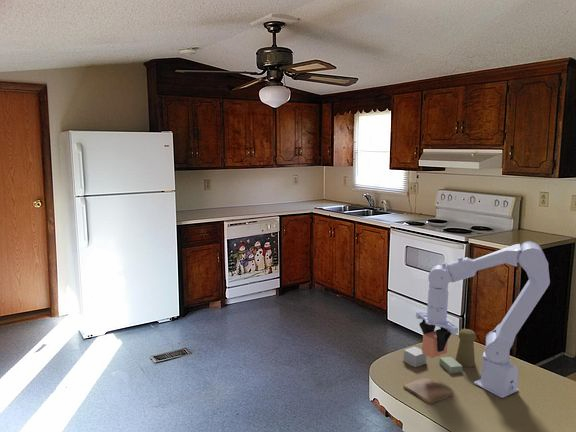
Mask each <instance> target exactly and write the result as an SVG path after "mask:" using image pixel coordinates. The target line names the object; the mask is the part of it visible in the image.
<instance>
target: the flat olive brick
mask: <svg viewBox="0 0 576 432" xmlns="http://www.w3.org/2000/svg"><path fill="white" fill-rule="evenodd" d="M438 363H439V365H440V366H441V367H442V368H444V370H446V371H447V372H448V373H449V374H450V375H451V374H457V373H462V372H463V366H462V365H461V364H459V363H458V362H457V361H456V358H453V357H452V356H444V357H439V361H438Z"/></svg>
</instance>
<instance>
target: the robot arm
mask: <svg viewBox="0 0 576 432" xmlns="http://www.w3.org/2000/svg"><path fill="white" fill-rule="evenodd" d="M518 263H519V266H521V268H522V269H523V270H524V271H525V272H526V275H527V278H528V280H527V281H526V283H525V284H524V286H523V288H522V289H521V291H520V292H519V294H518V296H517V297H516V299H515V300H514V302H513V303H512V305H511V306H510V308H509V310H508V311H507V312H506V314H505V316H504V317H503V319H502V320H501V322H500V323H499V324H497V325H496V327H495V328H494V329H493V330H491V331H489V332H488V333H487V334H486V336H485V349H484V352H483V353H482V360H481V374H480V379H477V380H474V381H473V383H474V384H475V385H476V386H479V387H480V388H482V389H484V390H486V391H488V392H490V393H491V394H493V395H495V396H497V397H499V398H501V399H502V398H505V397H508V396H510V395H512V394H514V393H516V392H518V391H519V388H518V382H519V372H520V370H519V367H518V366H517V365H515V364H513V363H512V361H511V358H510V350H511V348H512V346H513V345H514V341H515V339H516V335H517V334H518V333H519V331H520V330H521V329H522V326H523V325H524V324H525V322H526V321H527V319H528V318H529V316H530V315H531V313H532V312H533V310H534V308H535V307H536V305H538V302H539V301H540V300H541V298H542V297H543V295H544V294H545V292H546V290H547V289H548V287H549V286H550V283H551V279H550V270H549V261H548V260H547V258H546V255H545V253H544V251H543V249H542V247H541V245H540V244H538V243H536V242H534V241H525V242H522V243H521V244H520V243H516V244H513V245H509V246H507V247H505V248H501V249H499V250H496V251H493V252H490V253H488V254H486V255H482V256H480V257H477V258H471V257H467V256H466V257H463V256H459V257H457V259H456V260H454V261H451V262H448V263H446V262H442V263H441V264H438V265H434V266H433V267H432V268H431V270H430V272H429V273H428V278H427V279H428V280H427V281H428V283H429V284H428V294H427V308H426V309H427V310H426V312H424V311H422V310H420V311H416V315H415V318H416V319H418V320H421V321H420V322H419V328H420V329H421V331H422V333H423V334H426V333H430V332H433V331H435V332H436V335H437V350H438V352H441V351H444V348H445V345H446V343H447V344H448V342H447V341H449V338H450V337H451V335H453V336H454V335H457V334H459V326H457V325H455V324H454V323H452V322H451V321H449V320H448V318H447V317H448V304H449V284H450V283H456V282H459V281H462V280H466V279H469V278H472V277H474V276H475V275H476V273H477V272H478V271H481V270H484V269H488V268H491V267H496V266H499V265H503V264H508V265H511V266H514V267H518ZM436 327H439V328H438V329H436ZM435 329H436V330H435ZM423 334H422V335H423Z"/></svg>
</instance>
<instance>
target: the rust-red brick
mask: <svg viewBox="0 0 576 432" xmlns="http://www.w3.org/2000/svg"><path fill="white" fill-rule="evenodd" d="M448 341H449V340H448ZM448 341H447V343H446V345H445V348H444V351H441V352H438V350H437V335H436V332H435V330H434V331H433V332H430V333H426V334H422V349H421V350H422V353H423V354H425V355H427V356H426V357H429V358H431V359H434V358H436V357H440V356H442V355H445V354H447V353H448Z"/></svg>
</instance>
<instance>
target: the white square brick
mask: <svg viewBox="0 0 576 432" xmlns="http://www.w3.org/2000/svg"><path fill="white" fill-rule="evenodd" d="M427 357H428V356H427V355H425V354H423V353H422V349H421V348H419V347H418V346H412V347H408V348H406V349H404V350H403V362H404V361H405V363H406V362H407V363H406V364H408V363H409V364H408V365H410V366H412V367H414V368H418V367H420V366H423V365H425V364H427ZM417 366H418V367H417Z"/></svg>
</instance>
